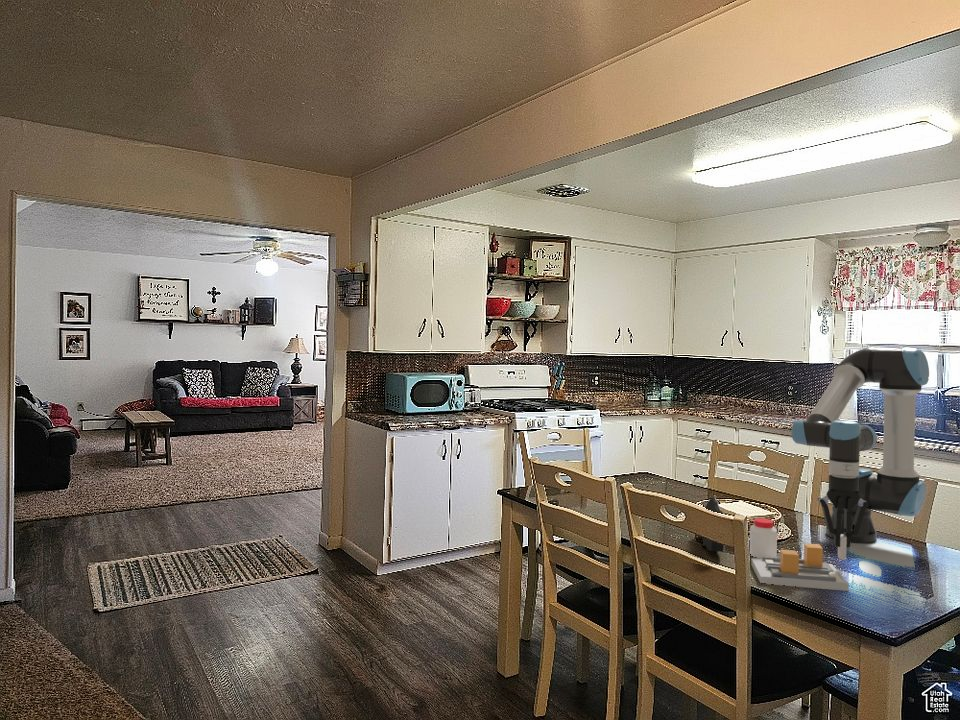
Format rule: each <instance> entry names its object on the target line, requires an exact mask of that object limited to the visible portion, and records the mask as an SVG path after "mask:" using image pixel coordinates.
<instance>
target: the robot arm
mask: <svg viewBox="0 0 960 720" xmlns="http://www.w3.org/2000/svg"><path fill="white" fill-rule="evenodd" d="M929 378H930V367H929V363H928V359H927V357H926V354H925V353H924V352H923V351H922V350H921V349H919V348H913V347H912V348H911V347H866V348H862V349H859V350H856V351H855V352H852V353H851V354H849V355H848V356H847V357H845V358H844V359H842V360H841V361H840V362H839V363H838V365H836V367H835V369H834V370H833V378H832V380H831V381H830V383H829V384H828V386H827V388H826V389H825V391H824V392H823V393H822V395H821V397H820V399H819V400H818V401H817V403H816V405H815V406H814V408H813V409H812V410H811V412H810V414H809V416H808V417H807V418H806V420H805V419H801V420H800V419H797V420H795V421H794V422H793V424H792V427H791V431H790V432H791V438H792V441H793V442H794V443H795V444H797V445H798V444H799V445H804V446H807V447H809V446H810V447H819V448H826V449H827V448H828V449H829V453H828V454H829V457H828V459H829V461H828V473H829V475H828V490H827V492H826V495H824V496H823V497H818V498H817V501H818V503H819V504H820V506H821V508H822V509H821V510H822V514H823V517H824V518H823V519H824V522H825V534H826V535H827V536H828V537H830V538H832V537H833V538H832V539H833V544H834V546H835V547H837V558H838V559H839V560H841V561H842V560H843V561H847V548H848V549H849V548H850V547H851V542H852V543H859V544H868V543H873V542H876V541H877V536H878V535H877V534H878V533H877V530H876V527H875V524H874V520H873V518H872V511H876V512H877V511H878V512H882V513H888V514H892V515H893V514H894V515H898V516H899V517H900V516H906V517H915V516H917V515H918V514H920V512H921V510H922V508H923V506H924V503H925V500H926V495H927V485H926V483H925V482H924V481H922V480H920V473H918V472H917V471H916V470H915V466H914V465H915V438H916V437H915V436H916V435H915V433H916V430H915V428H916V402H917V400H916V396H917V395H918V394H919V393H920V392H921V391H922V389H923V388H922V386H925V385H927V384H928V383H929V380H930V379H929ZM866 383H877V384H879V385H878V387H879V390H880V391H881V392H882V393H883V394H884V400H883V402H884V408H883V438H882V439H883V442H882V443H883V444H882V445H883V447H882V467H881V468H879V469H878V470H877V471H876V473H877V474H873V470H872V469H869V468H860V452H865V451H869V450H870V449H871V448H874V446H876V444H877V440H878V435H877V432H876V431H875V430H874V429H873V428H872V427H871V426H870V425H868V424H860V423H859V422H857V421H854V420H842V419H841V420H840V419H839V418H840V417H841V415H842V413H843V412H844V410H845V408H846V406H847V405H848V404H849V402H850V401H851V399H852V398H853V395H854V394H855V392H856V391H857V389H858V390H859V389H860V388H861V387H862V386H863V385H865V384H866ZM829 502H830V503H831V505H832V509H831V513H830V508H829V504H830V503H829Z"/></svg>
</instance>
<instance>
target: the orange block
mask: <svg viewBox="0 0 960 720" xmlns="http://www.w3.org/2000/svg"><path fill="white" fill-rule="evenodd" d="M803 559H804V565H806V566H819V567H823V562H824V561H823V560H824V548H823V547H822V546H821V544H819V543H807V542H806V543H803Z"/></svg>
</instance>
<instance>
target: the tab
mask: <svg viewBox="0 0 960 720" xmlns="http://www.w3.org/2000/svg"><path fill="white" fill-rule="evenodd" d="M779 551H780V552H779V557H780V572H781V573H792V574H799V559H800V555H799V553H798V552H797V551H796V550H790V549H779Z"/></svg>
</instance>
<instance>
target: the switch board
mask: <svg viewBox="0 0 960 720" xmlns="http://www.w3.org/2000/svg"><path fill="white" fill-rule="evenodd" d="M750 565H751V567H752V569H753V571H754V573H755V575H756V577H757V579H758V581H759V583H760V584H761V583H766V584H765V585H771V584H774V586H783V585H785V586H784V587H795V586H796V587H797V588H798V587H799V588H808V589H822V590H830V591H831V590H832V591H833V590H834V591H842V592H843V591H846V592H849V590H850V587H849V586H850V583H849V582H848V581H847V580H846V579H845V578H844V577H845V576H843V575H842V574H841V573H840V572H839V571H838V569H837V568H836V567H835V566H834V564H832V563H828V562H824V561H823V567H819V566H806V565H804V558H799V574H792V573H781V572H780V556H779V557H767V556H762V559H759V558H755V557H751V559H750ZM796 587H795V588H796Z"/></svg>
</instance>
